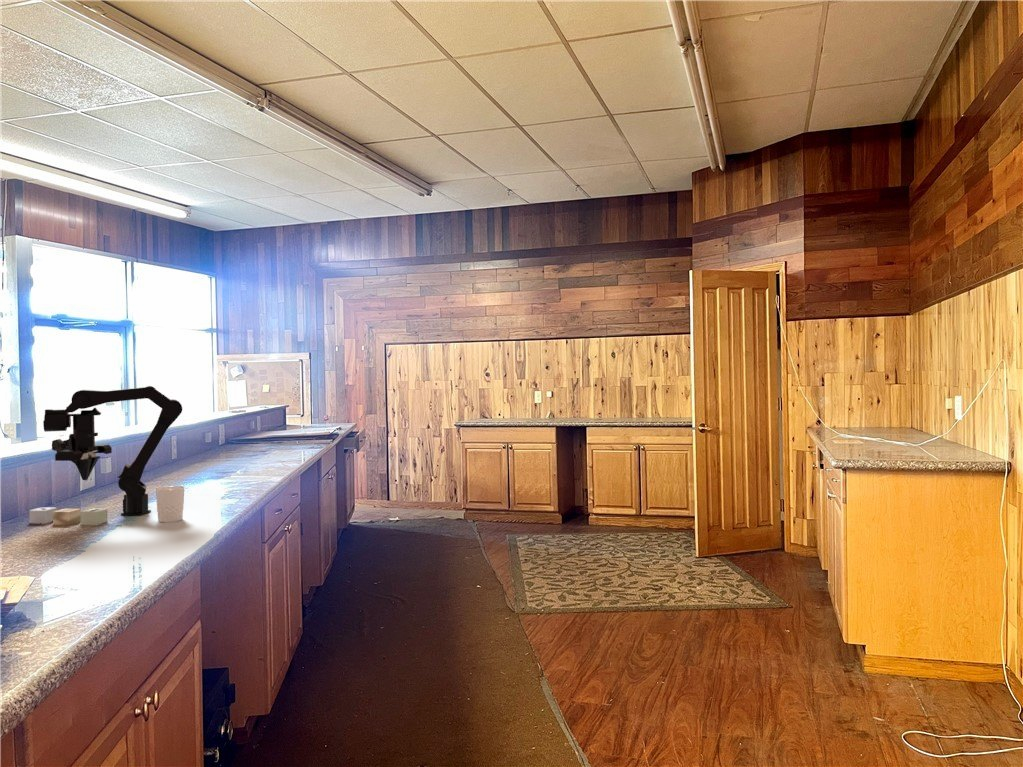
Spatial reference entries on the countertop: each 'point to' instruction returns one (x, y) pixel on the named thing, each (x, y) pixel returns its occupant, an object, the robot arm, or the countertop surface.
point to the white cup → (170, 503)
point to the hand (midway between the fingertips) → (85, 480)
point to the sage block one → (93, 516)
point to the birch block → (66, 516)
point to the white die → (42, 515)
